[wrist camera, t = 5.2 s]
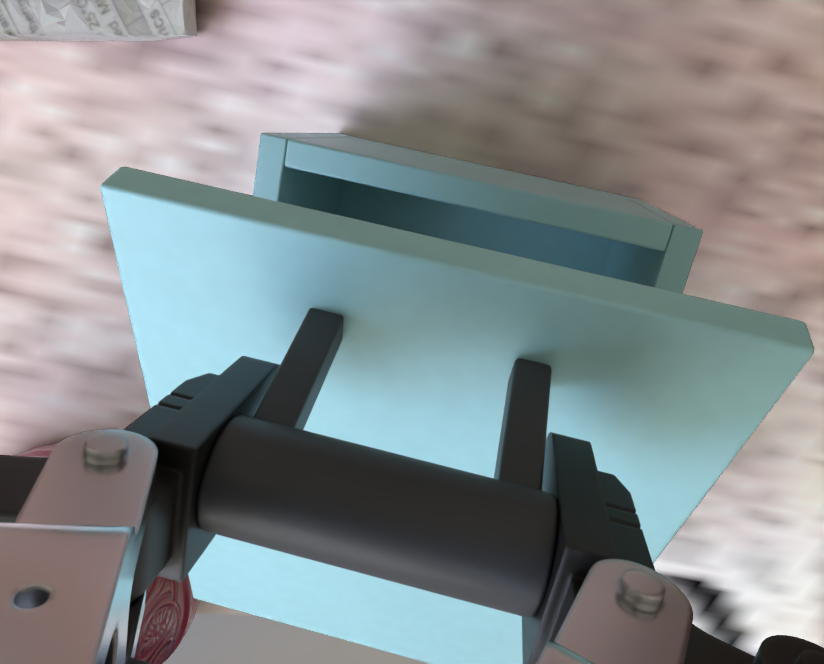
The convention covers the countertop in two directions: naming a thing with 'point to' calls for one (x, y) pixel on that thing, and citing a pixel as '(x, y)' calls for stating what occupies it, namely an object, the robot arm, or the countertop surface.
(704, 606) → the countertop surface
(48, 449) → the kitchen canister
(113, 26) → the packaged product
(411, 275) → the freezer lid
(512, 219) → the box
